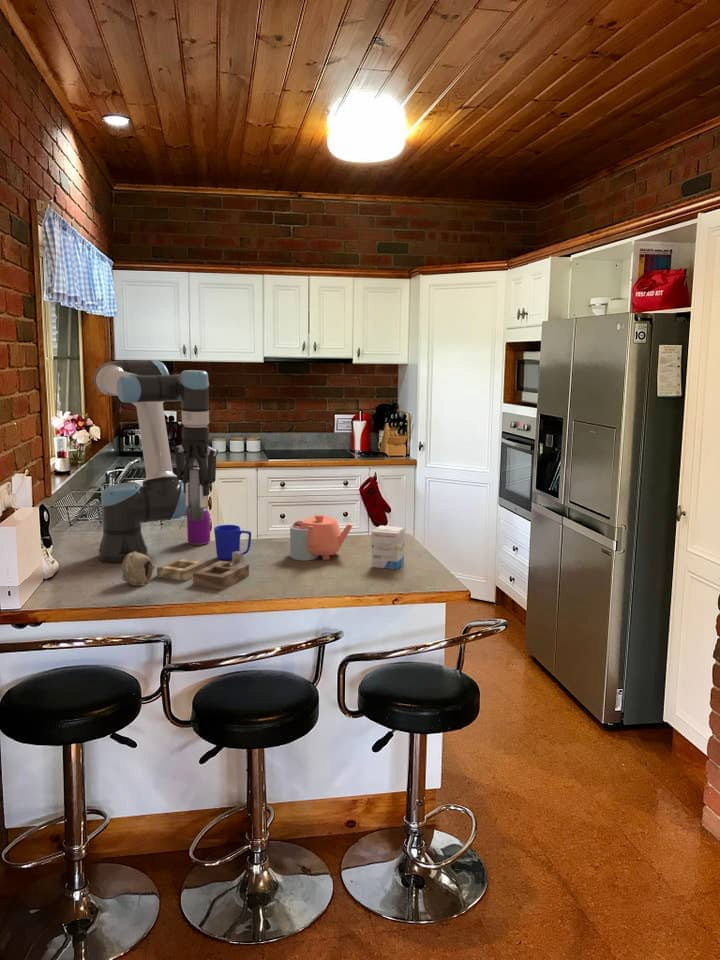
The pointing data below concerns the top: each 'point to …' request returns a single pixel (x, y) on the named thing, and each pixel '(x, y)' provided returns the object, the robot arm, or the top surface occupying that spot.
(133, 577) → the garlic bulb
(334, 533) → the teapot
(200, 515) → the peg
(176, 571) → the frame
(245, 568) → the socket block
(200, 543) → the beverage can
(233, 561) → the drift key
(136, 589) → the top surface
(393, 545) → the ink box
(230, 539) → the mug
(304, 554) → the mug
